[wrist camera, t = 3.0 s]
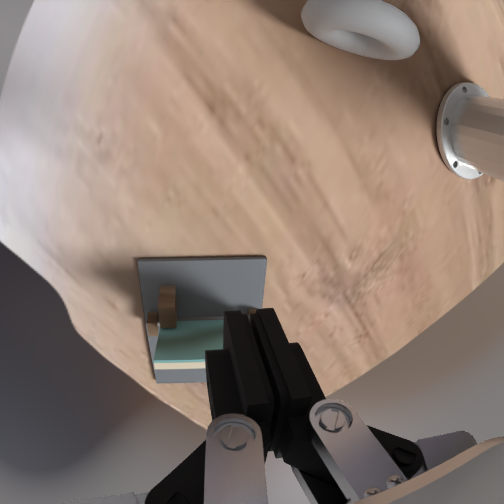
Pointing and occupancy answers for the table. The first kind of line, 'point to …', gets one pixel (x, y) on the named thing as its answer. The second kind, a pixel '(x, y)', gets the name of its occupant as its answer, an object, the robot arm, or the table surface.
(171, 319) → the hinge stand
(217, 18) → the table surface
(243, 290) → the mat board
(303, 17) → the donut
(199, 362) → the tile
